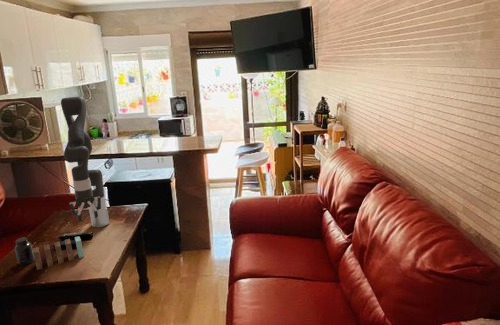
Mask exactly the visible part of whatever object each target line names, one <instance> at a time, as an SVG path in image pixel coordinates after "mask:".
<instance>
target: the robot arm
mask: <svg viewBox="0 0 500 325" xmlns="http://www.w3.org/2000/svg"><path fill="white" fill-rule="evenodd" d="M60 106H61V110H62V113H63V116H64V118H65V122H66V125H67V127H68V130H67V143H66V146H65V148H64V153H63V158H64V160H65V161H66V162H67V163H77V165H76V166H73V167H72V168H71V176H72V180H73V184H72V185H73V189H74V194H75V201H70V202H68V203H69V206H70V210H71V212H72V215H73V216H77V220H78V222H80V223H82V222H83V219H82V214H81V213H82V212H83V209H86V208H88V211H89V216H90V221H91V222H90V223H91V227H93V228H102V227H104V226H107V225H110V217H109V212H108V210H109V209H108V208H107V203H106V198H105V197H106V196H105V188H104V178H103V172H102V171H101V170H100V169H99V168H98V169H89V160H90V156H91V153H92V151H93V144H92V140H91V137H90V135H89V134H88V133H87V132H86V131H85V125H86V124H85V123H86V118H87V117H86V116H87V103H86V100H85V99H84V97H83V96H71V97H63V98H61V100H60ZM73 116H76V118H75V119H74V117H73ZM92 187H95V188H94V189H93V188H92ZM76 205H77V206H78V208H77V209H76V210H77V211H76V210H75V206H76Z"/></svg>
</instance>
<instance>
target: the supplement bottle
mask: <svg viewBox="0 0 500 325" xmlns="http://www.w3.org/2000/svg"><path fill="white" fill-rule="evenodd" d="M14 251H15V255H16V259H17V262H18V265H19V266H26V265H30V264H32V263H33V262H35V258H34V254H33V246H32V243H31V242H29V240H28V238H27V237H26V236H24V237H20V238H17V239H16V240H15V246H14Z"/></svg>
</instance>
